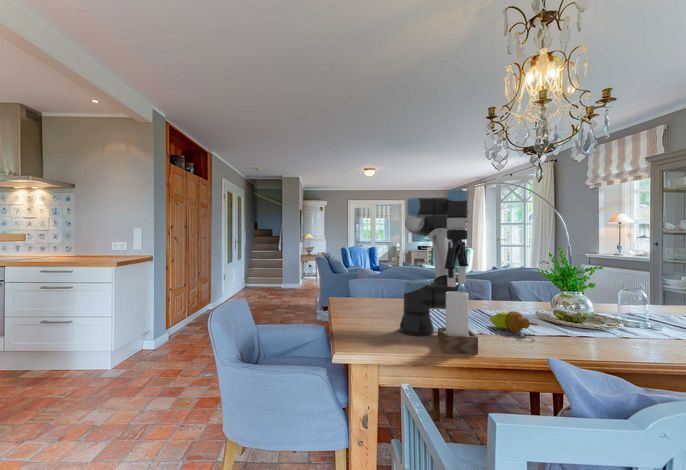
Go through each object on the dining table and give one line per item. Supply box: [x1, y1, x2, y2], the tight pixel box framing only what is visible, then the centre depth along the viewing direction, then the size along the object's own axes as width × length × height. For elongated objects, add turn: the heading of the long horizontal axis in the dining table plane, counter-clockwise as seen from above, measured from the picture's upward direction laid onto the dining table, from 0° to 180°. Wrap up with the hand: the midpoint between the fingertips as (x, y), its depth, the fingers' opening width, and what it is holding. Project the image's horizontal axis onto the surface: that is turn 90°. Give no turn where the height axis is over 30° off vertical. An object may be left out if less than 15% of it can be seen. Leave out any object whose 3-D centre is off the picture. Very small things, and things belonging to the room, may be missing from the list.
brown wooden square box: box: [437, 327, 479, 355], centre depth 130 cm, size 12×12×6 cm
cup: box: [445, 291, 469, 336], centre depth 131 cm, size 8×8×16 cm
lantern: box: [488, 311, 539, 333], centre depth 154 cm, size 9×9×25 cm
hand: (456, 284), depth 131 cm, fingers open, 13 cm apart
